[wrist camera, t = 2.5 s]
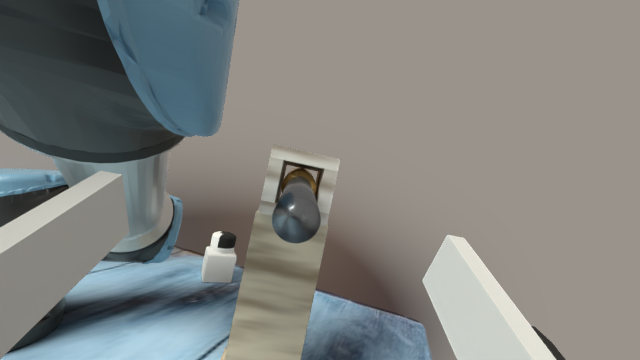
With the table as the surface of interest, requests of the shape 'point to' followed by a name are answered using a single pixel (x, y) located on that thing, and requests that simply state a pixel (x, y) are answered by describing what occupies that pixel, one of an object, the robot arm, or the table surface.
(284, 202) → the plug rod
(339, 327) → the table surface
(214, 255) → the medicine bottle
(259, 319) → the bore stand
